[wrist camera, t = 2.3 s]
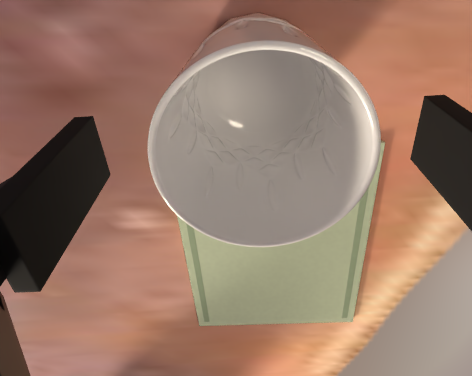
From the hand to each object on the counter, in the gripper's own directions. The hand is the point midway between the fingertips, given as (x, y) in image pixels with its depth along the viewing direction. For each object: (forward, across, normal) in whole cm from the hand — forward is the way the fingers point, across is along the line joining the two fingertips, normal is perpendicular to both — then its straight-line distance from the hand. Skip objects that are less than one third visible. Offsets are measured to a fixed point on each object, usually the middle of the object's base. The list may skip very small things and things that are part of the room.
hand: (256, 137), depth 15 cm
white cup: (+8, 0, 0) cm, 8 cm away
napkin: (+8, +1, -13) cm, 15 cm away
